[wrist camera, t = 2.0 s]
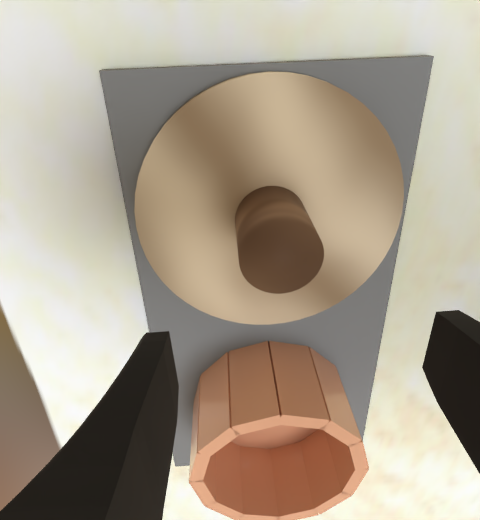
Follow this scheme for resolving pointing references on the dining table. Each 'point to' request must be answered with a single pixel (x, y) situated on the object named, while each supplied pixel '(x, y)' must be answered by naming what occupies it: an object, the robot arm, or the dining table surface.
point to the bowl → (274, 435)
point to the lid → (268, 198)
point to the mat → (295, 332)
